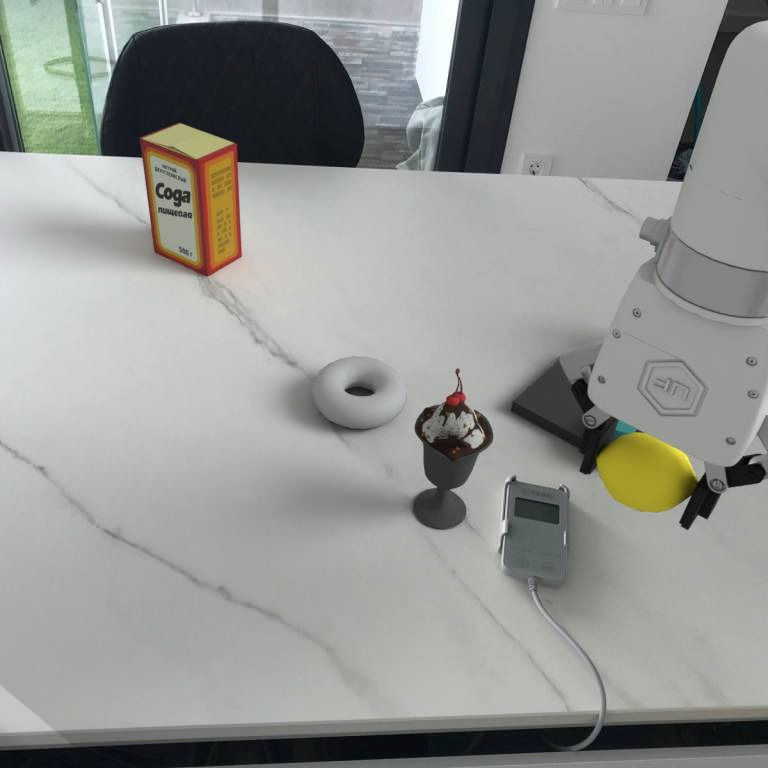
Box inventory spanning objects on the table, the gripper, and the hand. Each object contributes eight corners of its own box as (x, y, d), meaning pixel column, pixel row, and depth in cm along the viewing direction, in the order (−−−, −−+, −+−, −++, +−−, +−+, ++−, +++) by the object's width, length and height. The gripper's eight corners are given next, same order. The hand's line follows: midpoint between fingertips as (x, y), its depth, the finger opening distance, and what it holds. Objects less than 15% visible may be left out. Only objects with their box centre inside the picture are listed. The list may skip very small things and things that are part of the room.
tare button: (638, 432, 78) (643, 420, 77) (625, 448, 76) (629, 436, 75) (610, 417, 80) (614, 406, 79) (596, 432, 78) (600, 421, 77)
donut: (381, 449, 78) (420, 391, 85) (383, 424, 75) (423, 367, 82) (294, 416, 80) (338, 363, 87) (294, 391, 78) (339, 338, 85)
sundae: (440, 471, 76) (462, 349, 66) (489, 514, 72) (520, 391, 62) (389, 501, 72) (404, 377, 63) (437, 548, 68) (461, 423, 59)
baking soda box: (154, 252, 103) (139, 134, 93) (189, 233, 107) (178, 119, 97) (208, 276, 99) (198, 157, 89) (241, 256, 104) (236, 140, 93)
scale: (680, 413, 85) (689, 392, 83) (624, 481, 76) (633, 460, 75) (567, 358, 92) (573, 337, 90) (504, 415, 83) (510, 394, 81)
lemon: (580, 509, 54) (599, 453, 50) (593, 459, 58) (611, 404, 54) (683, 543, 52) (710, 487, 49) (690, 489, 56) (715, 434, 53)
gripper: (558, 235, 45) (506, 458, 56) (881, 362, 37) (745, 592, 48) (615, 196, 49) (557, 408, 60) (911, 301, 41) (781, 522, 53)
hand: (640, 487), depth 54 cm, fingers closed on lemon, 6 cm apart
